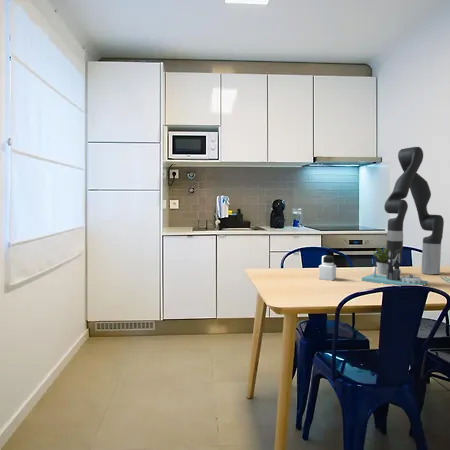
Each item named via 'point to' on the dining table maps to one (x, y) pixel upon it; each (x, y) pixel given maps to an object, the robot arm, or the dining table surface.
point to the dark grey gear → (394, 275)
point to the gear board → (403, 280)
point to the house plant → (382, 261)
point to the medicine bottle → (327, 268)
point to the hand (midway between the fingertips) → (393, 271)
